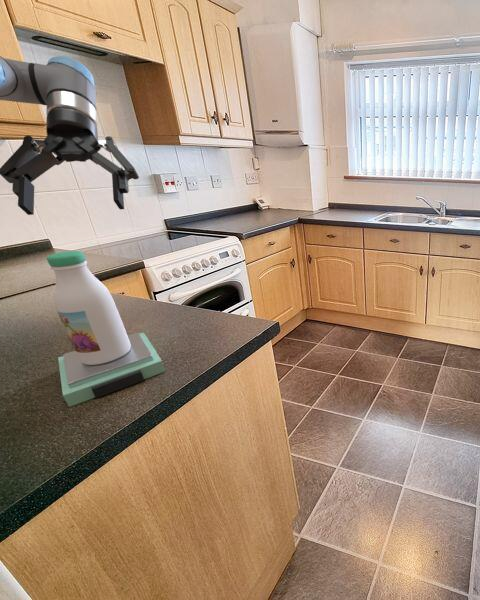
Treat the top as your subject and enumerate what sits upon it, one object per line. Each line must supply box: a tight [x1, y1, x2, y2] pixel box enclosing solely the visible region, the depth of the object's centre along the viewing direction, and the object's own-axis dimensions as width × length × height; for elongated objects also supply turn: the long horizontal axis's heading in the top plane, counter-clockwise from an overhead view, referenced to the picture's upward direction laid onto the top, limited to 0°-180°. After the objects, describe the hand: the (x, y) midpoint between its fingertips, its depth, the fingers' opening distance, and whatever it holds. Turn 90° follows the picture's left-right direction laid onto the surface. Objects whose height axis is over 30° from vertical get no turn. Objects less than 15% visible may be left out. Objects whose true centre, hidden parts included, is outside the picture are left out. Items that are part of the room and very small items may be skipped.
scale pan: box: [62, 332, 154, 388], centre depth 65 cm, size 13×12×1 cm
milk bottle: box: [46, 250, 131, 365], centre depth 60 cm, size 8×8×20 cm
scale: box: [57, 332, 166, 408], centre depth 65 cm, size 17×14×2 cm
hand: (74, 207), depth 63 cm, fingers open, 13 cm apart
